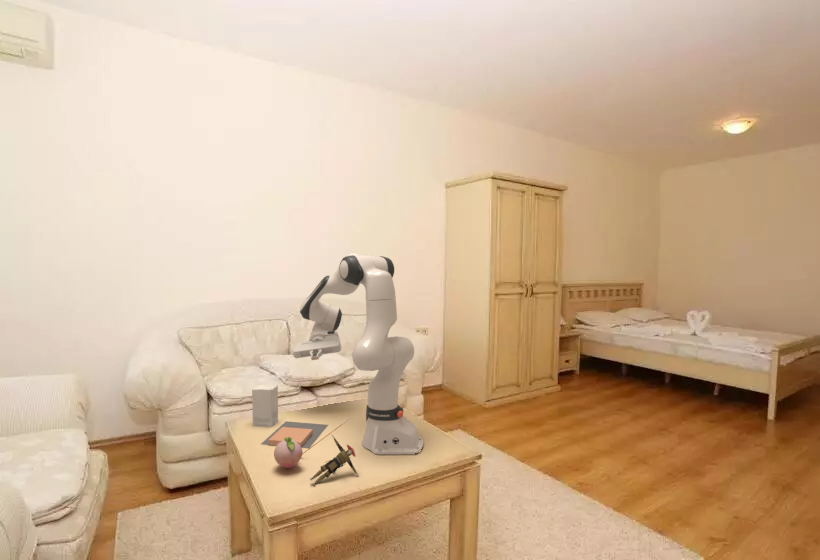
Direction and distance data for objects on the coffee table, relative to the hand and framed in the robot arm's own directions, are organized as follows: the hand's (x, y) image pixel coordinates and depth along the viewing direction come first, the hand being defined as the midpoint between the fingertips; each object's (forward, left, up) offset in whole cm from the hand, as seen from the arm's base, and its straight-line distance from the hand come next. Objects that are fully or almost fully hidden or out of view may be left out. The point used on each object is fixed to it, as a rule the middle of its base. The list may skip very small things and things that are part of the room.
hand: (314, 358), depth 172 cm
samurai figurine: (-20, +42, -27) cm, 53 cm away
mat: (+1, +14, -26) cm, 30 cm away
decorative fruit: (-6, +39, -27) cm, 48 cm away
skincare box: (+17, +7, -27) cm, 33 cm away
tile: (+1, +13, -25) cm, 28 cm away
